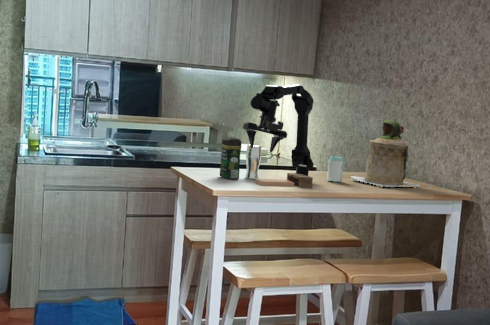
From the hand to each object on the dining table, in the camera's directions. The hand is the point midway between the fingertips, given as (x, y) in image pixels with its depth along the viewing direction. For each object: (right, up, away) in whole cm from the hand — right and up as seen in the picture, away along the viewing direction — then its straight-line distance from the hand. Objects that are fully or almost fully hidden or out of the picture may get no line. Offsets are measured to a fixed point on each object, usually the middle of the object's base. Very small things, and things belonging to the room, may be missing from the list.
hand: (261, 150), depth 283 cm
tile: (+6, -15, +9) cm, 18 cm away
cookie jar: (+61, -16, +41) cm, 75 cm away
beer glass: (-4, -13, +24) cm, 28 cm away
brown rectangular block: (+17, -15, +13) cm, 26 cm away
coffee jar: (-14, -12, +18) cm, 26 cm away
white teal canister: (+36, -14, +36) cm, 53 cm away
